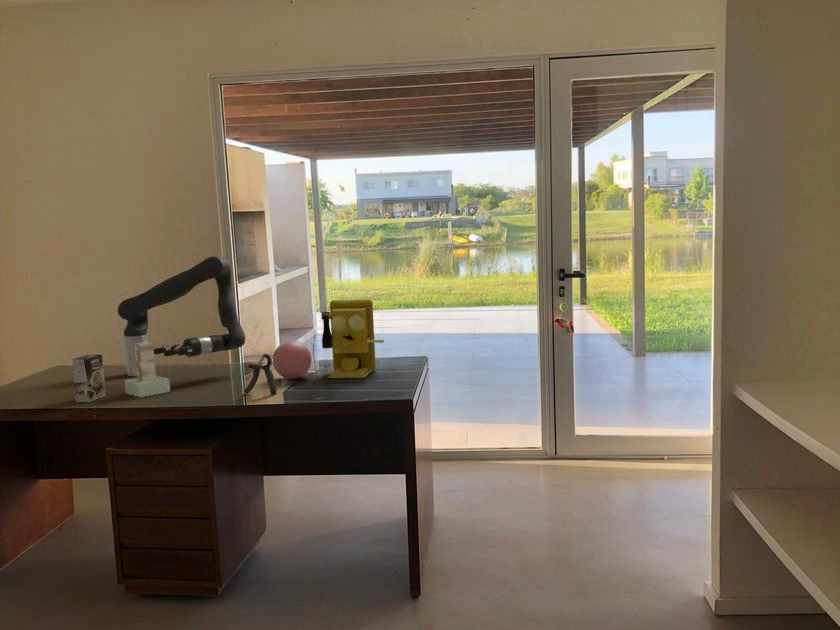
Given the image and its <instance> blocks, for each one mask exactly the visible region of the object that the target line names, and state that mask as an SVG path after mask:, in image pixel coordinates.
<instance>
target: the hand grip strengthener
mask: <svg viewBox="0 0 840 630" xmlns="http://www.w3.org/2000/svg"><path fill="white" fill-rule="evenodd" d="M265 358H266V365H265V364H264V365H261V364H262V363H263V361H264V360H265ZM272 365H273V357H272V356H271V355H269V354H268V353H264V354H262V356H261V358H260V359H259V360H258V362H257V363H256V364H252V363H249V362H247V363H246V364H245V368H246V369H252V370H253V371H252V377H251V379H250V381H249V383H248V385H247V386H246V388H245V389H244V391H243V392H244V393H245V394H249V393H250V392H251V391H252V390H253V389H254V387H255V385H256V383H257V381H258V379H259V378H260V377H259V376H260V372H261V370H263V372H264V374H265V377H266V378H265V379H266V381H267V385H268V388H269V392H270V395H271V394H275V395H277V394H278V388H277V384H276V380H275V376H274V373H273V370H271V366H272ZM276 393H277V394H276Z"/></svg>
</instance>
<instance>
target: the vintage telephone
mask: <svg viewBox="0 0 840 630" xmlns="http://www.w3.org/2000/svg"><path fill="white" fill-rule="evenodd" d="M320 308H322V306H321V307H319V308H318V309H317V311H316V315H317V313H318V311H319V310H320ZM323 309H324V311H322V312H321V317H320V318H321V320H322V321H323V323H322V324H323V332H322V337H321V344H322V349H325V350H327V349H331V351H332V366H333V372H331V374H330V373H329V374H328V373H322V375H325V376H326V375H328V376H327V379H328V378H364V377H365V378H366V377H368V376H369V375H370V374H371V373H372V372H371V371H377V365H376V351H375V350H376V345H375V343H381V344H383V343H384V338H382V339H375V326H374V322H375V321H374V306H373V301H372V300H371V299H344V300H343V299H342V300H341V299H338V300H337V299H336V300H333V299H332V300H331V301H330V302H329V310H330V311H326V309H325V308H323ZM314 324H316V319H315V323H314ZM315 336H316V331H314V335H313V341H315ZM312 347H313V348H312V356H313V357H312V358H313V362H314V364H316V361H315V359H316V358H315V344H313V346H312ZM314 368H315V370H317V369H316V368H317V367H316V365H314ZM334 371H335V372H334ZM370 372H371V373H370ZM369 373H370V374H369ZM368 374H369V375H368ZM367 375H368V376H367ZM365 378H364V379H365Z"/></svg>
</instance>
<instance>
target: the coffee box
mask: <svg viewBox="0 0 840 630" xmlns="http://www.w3.org/2000/svg"><path fill="white" fill-rule="evenodd" d="M71 363H72V371H73V383H74V393H75V402H77V403H91V401H92V402H94V400H95V401H97V400H100V399H103V398H105V397H107V396H106V395H107V394H106V383H105V375H104V364H103V354H87V355H84V356H79V357H76V358H72V362H71ZM104 396H105V397H104ZM102 397H103V398H102ZM99 398H100V399H99ZM96 399H97V400H96Z"/></svg>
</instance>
